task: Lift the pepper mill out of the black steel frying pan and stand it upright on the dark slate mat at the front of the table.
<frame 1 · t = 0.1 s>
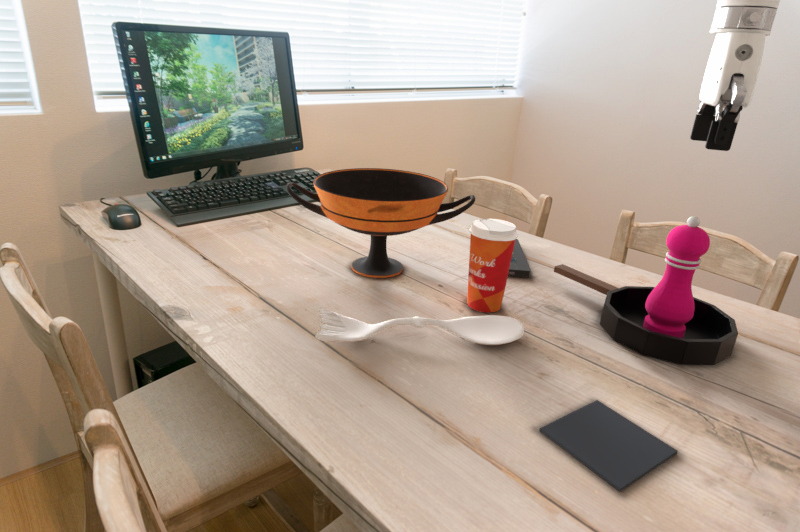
hand: (708, 144, 82), 30 cm above the table, tool pointing down, fingers open, 9 cm apart
pepper mill: (662, 332, 88), resting on pan
slate mat: (606, 442, 62), on the table
coffee cup: (484, 306, 94), on the table
cup: (377, 269, 107), on the table
spoon: (420, 339, 82), on the table
pan: (662, 332, 88), on the table
smart home device: (504, 259, 116), on the table
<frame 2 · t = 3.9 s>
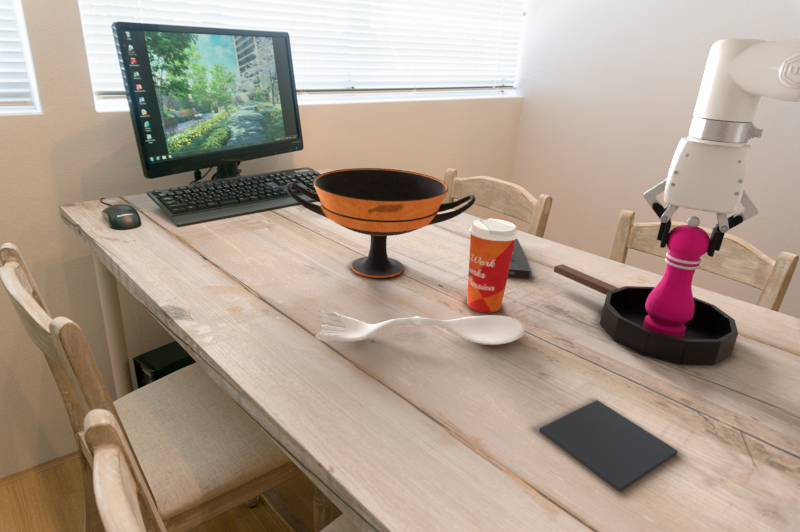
hand: (685, 248, 83), 15 cm above the table, tool pointing down, fingers closed on pepper mill, 6 cm apart
pepper mill: (662, 332, 88), resting on pan, touching gripper
everything else where it was.
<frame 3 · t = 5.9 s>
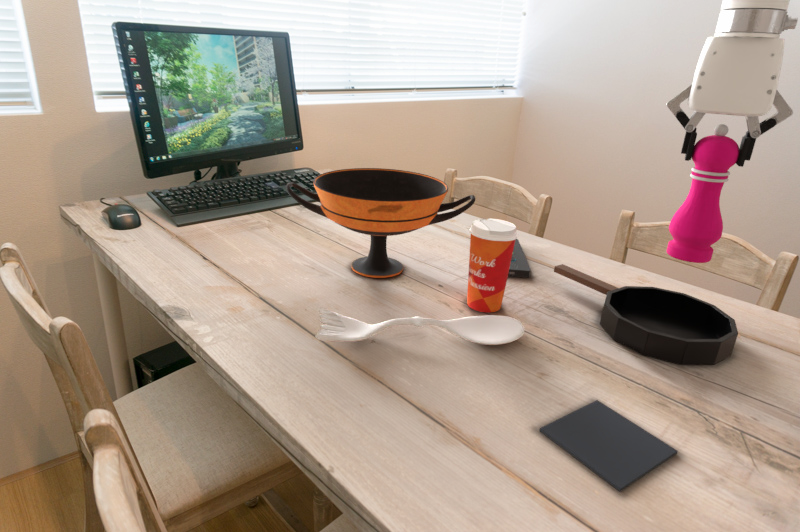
hand: (713, 161, 77), 29 cm above the table, tool pointing down, fingers closed on pepper mill, 6 cm apart
pepper mill: (687, 257, 82), point 14 cm above the table, touching gripper
everything else where it was.
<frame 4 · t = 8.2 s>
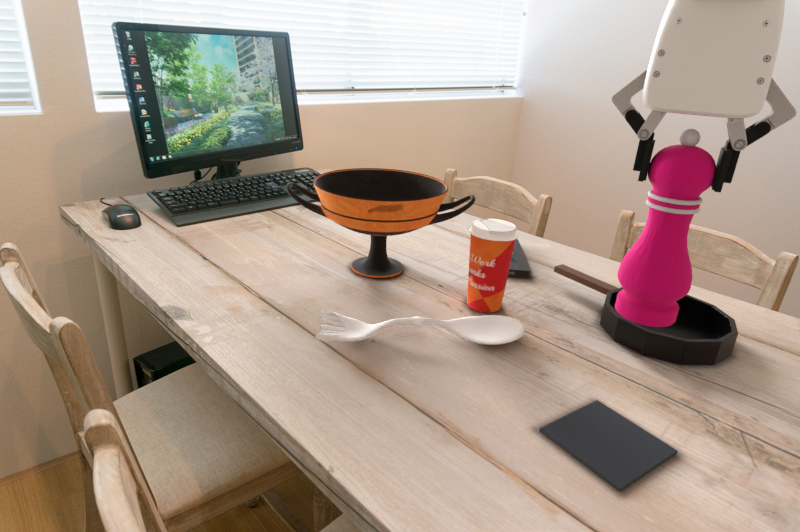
hand: (678, 182, 53), 30 cm above the table, tool pointing down, fingers closed on pepper mill, 6 cm apart
pepper mill: (643, 315, 58), point 16 cm above the table, touching gripper
everything else where it was.
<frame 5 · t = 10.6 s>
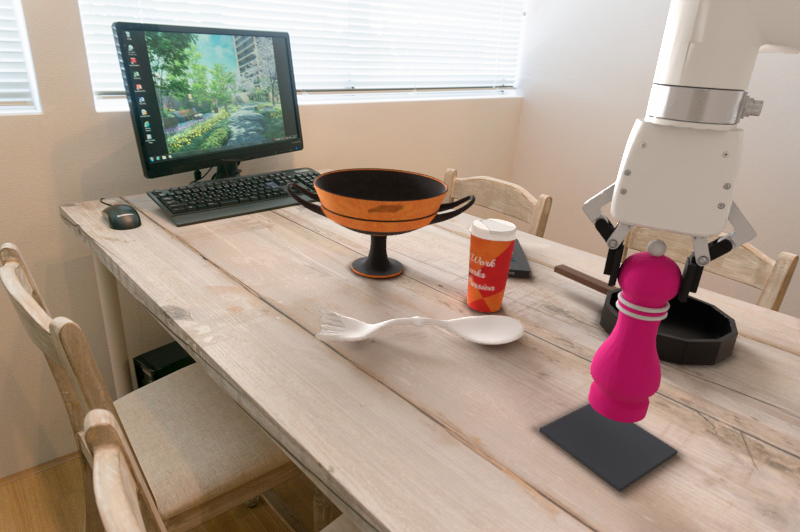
hand: (646, 287, 54), 20 cm above the table, tool pointing down, fingers closed on pepper mill, 6 cm apart
pepper mill: (616, 407, 60), point 5 cm above the table, touching gripper
everything else where it was.
when the fingers open (15 cm above the table, at t = 12.3 s): pepper mill stays where it is, resting on slate mat.
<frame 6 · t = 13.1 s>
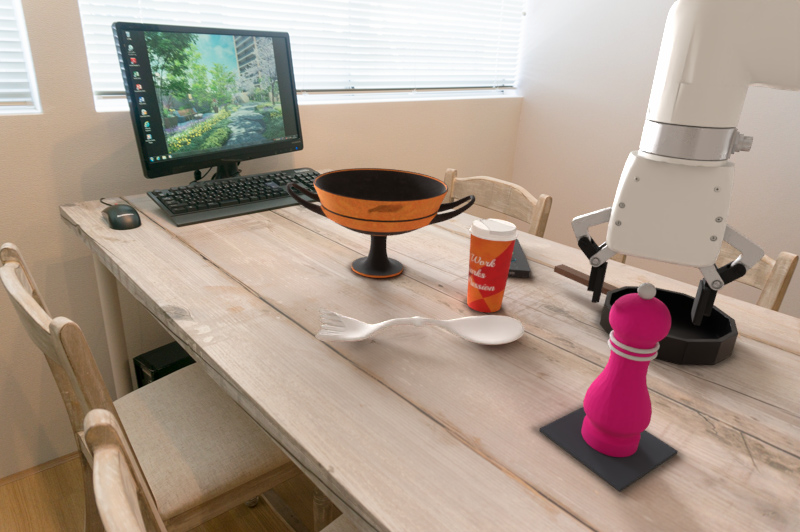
hand: (644, 308, 55), 18 cm above the table, tool pointing down, fingers open, 9 cm apart
pepper mill: (608, 440, 62), resting on slate mat
everything else where it was.
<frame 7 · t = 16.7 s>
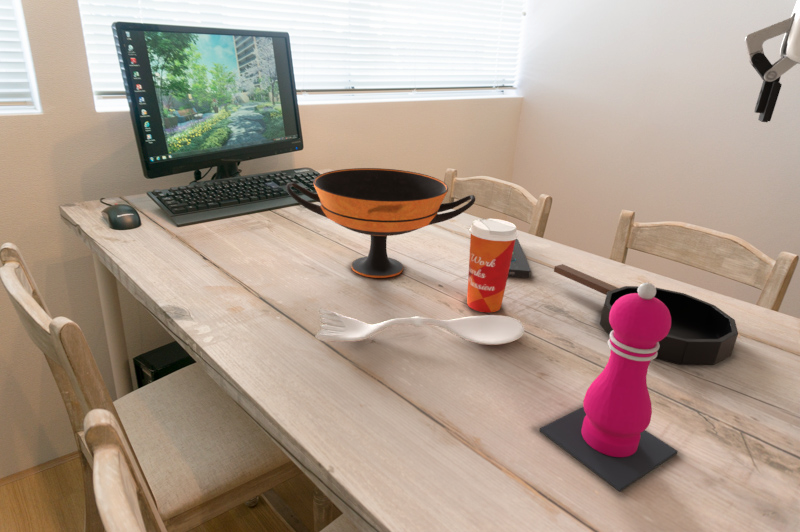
nothing on the table moved.
at the end: pepper mill inside the target area on the slate mat (0.1 cm from its centre), point 0.2 cm above the slate mat's base; pepper mill tilted 0°; the gripper is holding nothing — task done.
